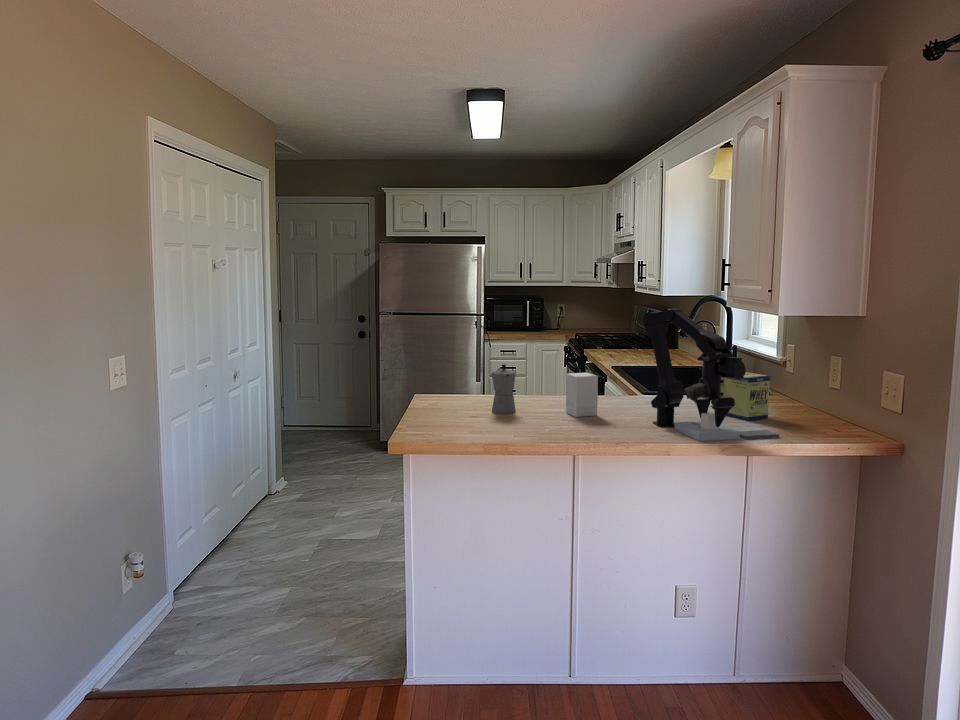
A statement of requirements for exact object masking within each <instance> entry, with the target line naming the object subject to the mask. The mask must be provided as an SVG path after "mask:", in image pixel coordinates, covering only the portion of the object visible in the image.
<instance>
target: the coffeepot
mask: <svg viewBox="0 0 960 720" xmlns="http://www.w3.org/2000/svg"><path fill="white" fill-rule="evenodd" d="M506 367H507V364H501V367H498V368H497V370H493V371H492V372H491V378H492V385H493V390H494V396H493V402H492V408H491V412H492V413H493V412H494V414H499V415H509V414H514V413H515V412H516V403H515V398H514V397H515V396H514V393H513V391H514V389H515V382H516V381H515V380H516V375H517V372H516V371H513V370H510V369H506Z"/></svg>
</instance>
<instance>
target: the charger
mask: <svg viewBox="0 0 960 720" xmlns="http://www.w3.org/2000/svg"><path fill="white" fill-rule="evenodd" d="M700 421H701V428H702V429H704V430H706V431H707V430H719V427H716V424H715V412H707V413H701V419H700Z"/></svg>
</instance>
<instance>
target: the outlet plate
mask: <svg viewBox="0 0 960 720" xmlns="http://www.w3.org/2000/svg"><path fill="white" fill-rule="evenodd" d="M674 423H675V426H674V430H675V431H677V432H679V433H681V434H683V435H686V436H687V437H690V438H692V439H694V440H696V441H698V442H705V441H707V442H708V441H721V440H725V441H726V440H739V439H741V438H740V431H741V430H737V429H735V428H732V427H731V426H728V425H726V424H723V423H721V425H720V427H719V430H707V431H706V430H704V429H702V428H701V420H698V421H697V420H696V421H678V422H675V421H674Z"/></svg>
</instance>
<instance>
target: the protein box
mask: <svg viewBox="0 0 960 720" xmlns="http://www.w3.org/2000/svg"><path fill="white" fill-rule="evenodd" d="M721 379H723V380H724V383H721V392H723V393H724V394H723V396H730V397H733V398H734V400H735V406H734V407H732V409H730V410H729V412H728V413H727V415H726V416H725V417H730V418H733V419H738V420H740V421H744V420H745V422H749V421H756V420H757V419H759V420H764V419H763V418H768V419H769V409H770V408H769V407H770V405H769V404H770V388H771V375H768V374H767V375H766V374H759V373H753V372H747V371H746V372H745V375H744V377H743V378H742V379H740V380H737V379H730V378H724V377H721ZM757 421H758V420H757Z"/></svg>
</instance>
